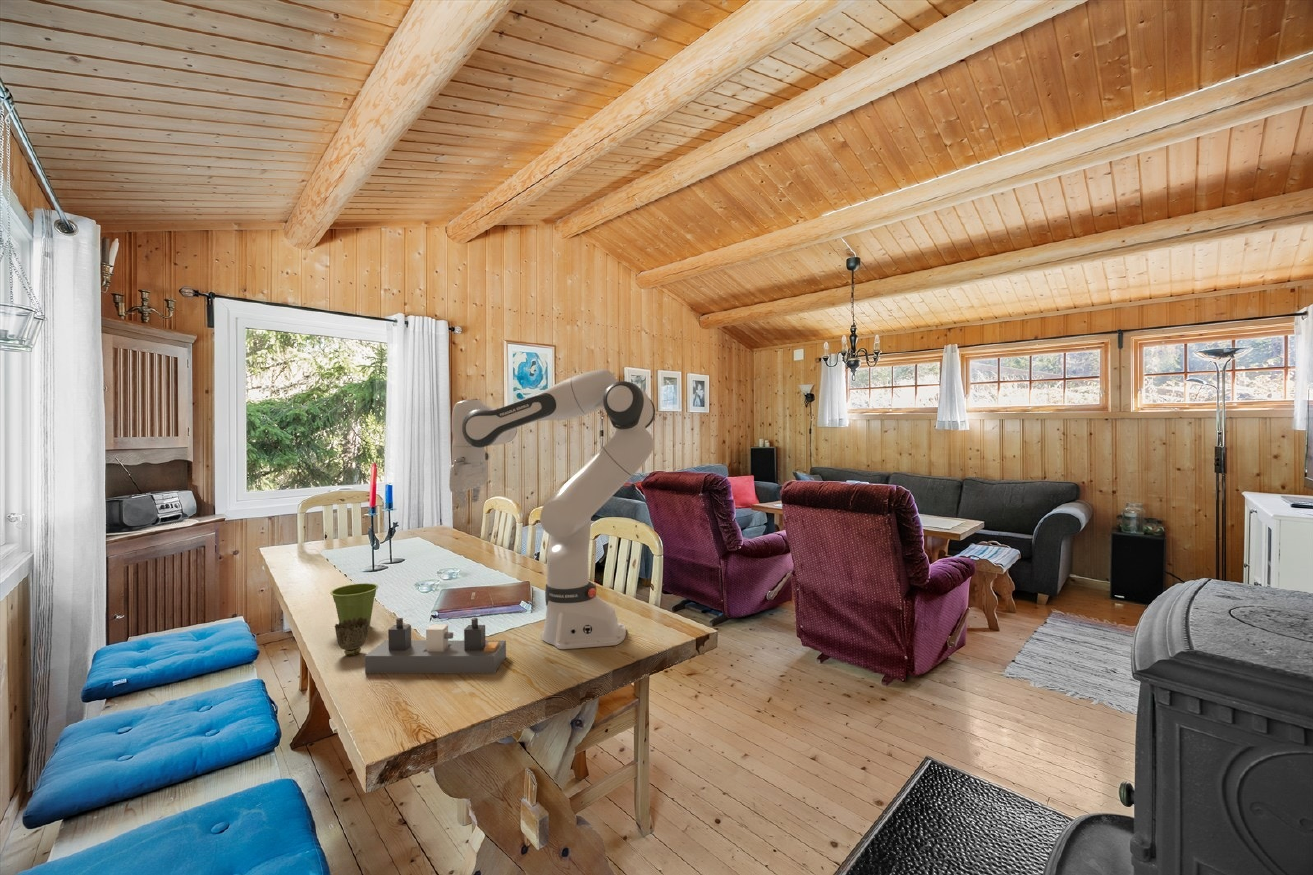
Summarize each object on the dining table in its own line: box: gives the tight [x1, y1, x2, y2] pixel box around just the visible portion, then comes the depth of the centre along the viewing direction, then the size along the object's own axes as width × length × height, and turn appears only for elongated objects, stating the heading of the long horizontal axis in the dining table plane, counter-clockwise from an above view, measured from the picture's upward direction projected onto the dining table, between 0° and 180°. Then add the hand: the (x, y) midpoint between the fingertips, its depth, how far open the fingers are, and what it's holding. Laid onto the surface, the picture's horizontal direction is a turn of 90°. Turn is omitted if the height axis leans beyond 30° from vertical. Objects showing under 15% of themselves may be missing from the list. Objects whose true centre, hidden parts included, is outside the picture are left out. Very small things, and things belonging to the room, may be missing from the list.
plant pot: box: [330, 582, 379, 628], centre depth 155 cm, size 12×12×11 cm
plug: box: [425, 624, 454, 652], centre depth 131 cm, size 6×3×8 cm, turn 88°
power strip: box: [364, 617, 507, 674], centre depth 131 cm, size 30×9×11 cm, turn 89°
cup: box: [334, 617, 369, 657], centre depth 138 cm, size 8×7×8 cm
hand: (469, 504), depth 159 cm, fingers open, 8 cm apart
